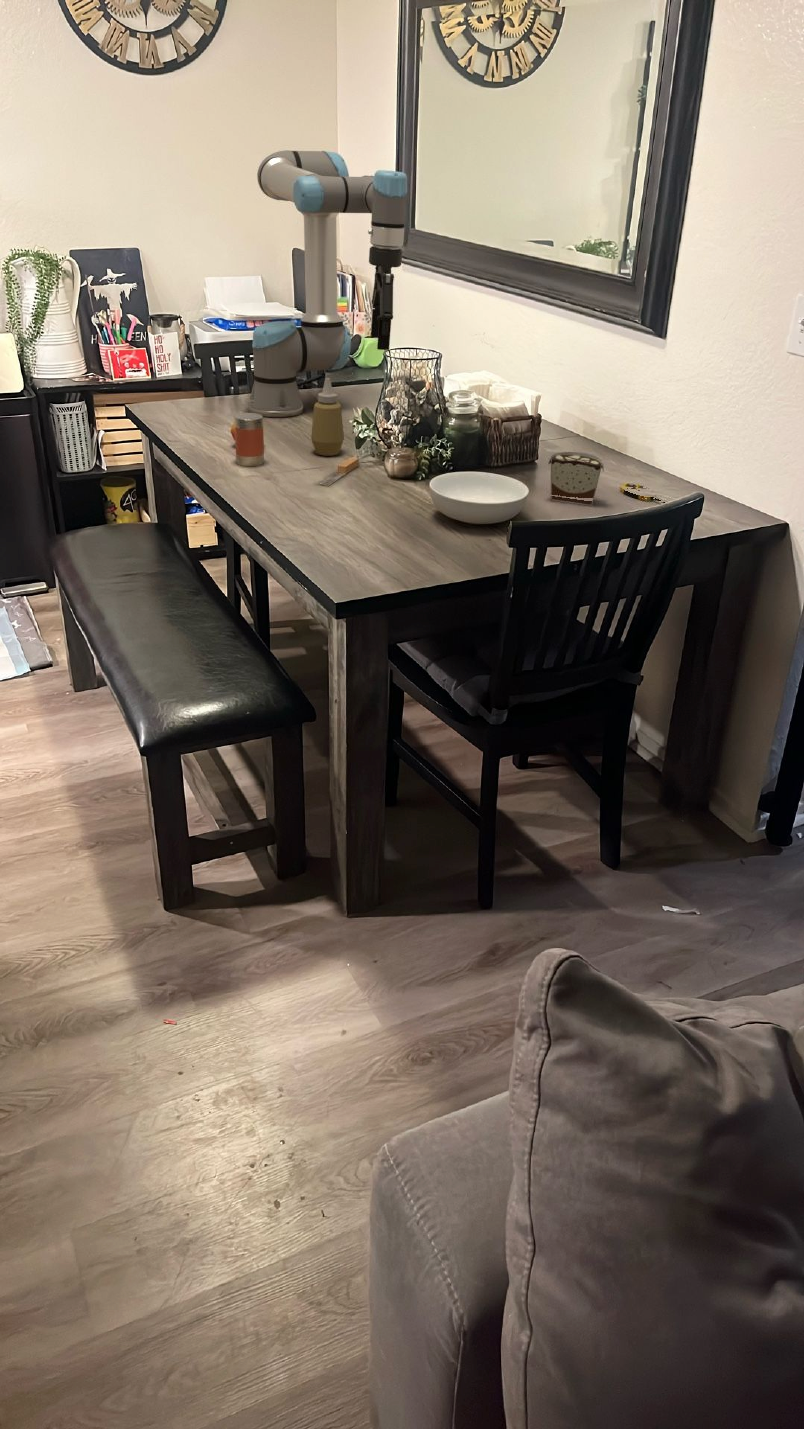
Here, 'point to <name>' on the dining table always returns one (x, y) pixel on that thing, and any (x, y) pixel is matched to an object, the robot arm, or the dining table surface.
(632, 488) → the overripe banana
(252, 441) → the tin can
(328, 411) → the squeeze bottle
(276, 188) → the robot arm
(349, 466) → the knife
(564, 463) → the food container
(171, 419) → the dining table surface
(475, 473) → the serving bowl
